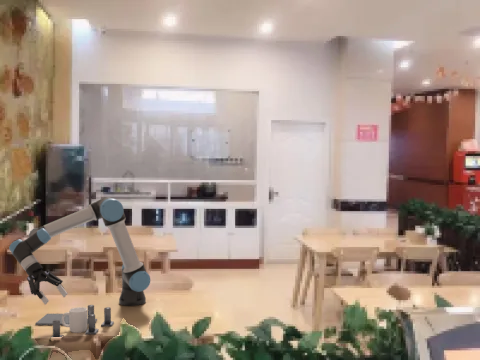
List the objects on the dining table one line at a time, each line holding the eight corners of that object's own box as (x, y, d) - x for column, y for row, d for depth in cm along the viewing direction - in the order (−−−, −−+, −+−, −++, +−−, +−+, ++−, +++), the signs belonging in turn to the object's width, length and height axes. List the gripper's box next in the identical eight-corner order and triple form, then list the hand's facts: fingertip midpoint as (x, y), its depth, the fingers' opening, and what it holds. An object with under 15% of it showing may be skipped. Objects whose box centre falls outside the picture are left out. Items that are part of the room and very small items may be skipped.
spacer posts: (115, 320, 263) (115, 304, 263) (100, 341, 234) (100, 322, 233) (70, 320, 263) (70, 304, 263) (49, 340, 234) (48, 322, 234)
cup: (85, 332, 245) (85, 311, 245) (59, 333, 244) (59, 312, 243) (88, 327, 253) (88, 306, 253) (64, 327, 252) (63, 307, 252)
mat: (84, 315, 272) (84, 313, 272) (75, 325, 256) (75, 323, 256) (47, 315, 272) (47, 313, 272) (35, 325, 256) (35, 323, 256)
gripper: (45, 266, 269) (69, 297, 264) (8, 276, 245) (34, 310, 241) (53, 257, 267) (77, 288, 262) (17, 266, 243) (43, 300, 239)
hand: (56, 299), depth 251 cm, fingers open, 13 cm apart
